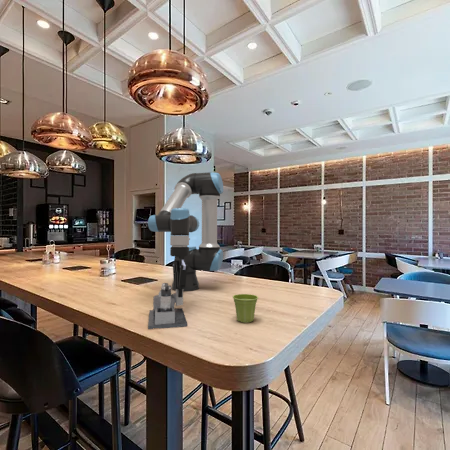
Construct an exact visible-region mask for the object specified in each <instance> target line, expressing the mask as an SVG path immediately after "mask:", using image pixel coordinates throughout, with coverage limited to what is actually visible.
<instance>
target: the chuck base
mask: <svg viewBox="0 0 450 450" xmlns="http://www.w3.org/2000/svg"><path fill="white" fill-rule="evenodd" d="M148 314H149V315H148V325H147V329H148V330H154V329H153V328H159V329H171V328H183V327H184V328H185V327H188V322H187V321H188V320H187V318H186V315H185V311H184V309H183V307H180V308H175V310H174V307H170V312H160V308H155V314H154V313H153V309H150V310H149V313H148Z"/></svg>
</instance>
